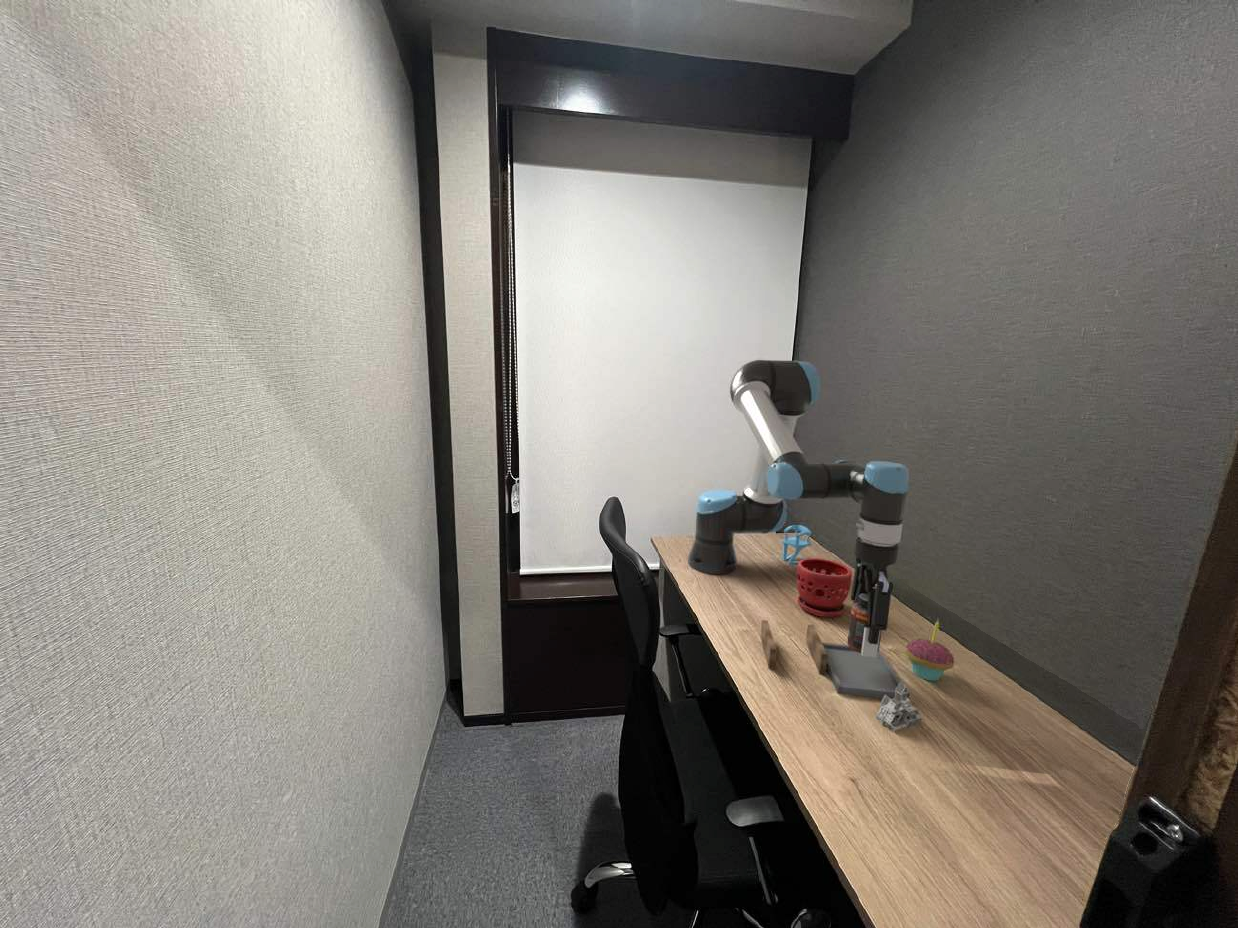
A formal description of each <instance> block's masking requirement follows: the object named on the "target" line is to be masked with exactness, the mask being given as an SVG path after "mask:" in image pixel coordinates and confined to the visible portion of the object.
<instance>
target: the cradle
mask: <svg viewBox="0 0 1238 928" xmlns="http://www.w3.org/2000/svg"><path fill="white" fill-rule="evenodd" d="M760 629H761V630H760V640H761V646H762V648H763V649H762V650H763V652H764V656H765V660H766V664H767V667H768V669H773V670H775V668H776V659H777V651H778V650H777V647H776V646H777V645H776V643H775V640H774V637H773V634H772V630H771V628H770V624H769V621H768V620H761V628H760ZM805 643H806V646H807V648H808V651H809V653H810V655H811V658H812V660H813V662H814V665H815V667H816V669H817V672H818V674H820V675H826V670H827V669H826V664H827V656H828V654H827V652H826V650H825V648H824V646H823V644H822V640H821V638H820V636H819V634H818V631H817V630H816V627H815V626H814V624H807V630H806V638H805Z"/></svg>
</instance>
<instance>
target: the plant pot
mask: <svg viewBox="0 0 1238 928" xmlns="http://www.w3.org/2000/svg"><path fill="white" fill-rule="evenodd" d="M798 561H799V563H797V567H796V568H797V569H796V583H797V585H796V586H797V590H798V593H799V595H798V597H797V598H796V599H797V600H796V601H797V604H798V605H799V606H800V608H801V609H802V610H804V611H805V612H807V613H809V614H811V615H814V616H819V617H824V618H831V617H832V618H833V617H837V616H840V615H842V614H843V613H844V612H845V607H846V606H845V605H844V602H846V599H847V597H848V594H849V592H850V589H851V583H852V576H853V571H852V570H851V569H850V568H849V567H848V566H847V565H845V564H844V563H843V564H842V563H840V562H838V561H834V560H830V559H823V558H814V557H813V558H806V559H803V558H802V560H798ZM814 569H815V570H814ZM823 570H824V571H825V573H822V571H823ZM832 574H834V575H832Z"/></svg>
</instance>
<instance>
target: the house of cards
mask: <svg viewBox="0 0 1238 928" xmlns="http://www.w3.org/2000/svg"><path fill="white" fill-rule="evenodd" d="M901 682H902V681H901ZM901 682H899V684H898V686H897V688H896V690H895V691H896V692H895V698H894V699H890V698H888V697H887V696H886V695H885V696H884V698H882V699H881V701H880V708H879V710H878V712H877V713H876V714H875V719H876V720H877V721H878V722H879V723H881V724H882V726H884V727H886V728H888V729H889V730H890V731H892V732H893V733H895V731H899V730H902V729H905V728H909V726H912V725H916V724H918V723H922V719H923V718H922V716H920V715H919V712H918V710H917V708H915V707H914V706H913V705H912V702H911V700H910V698H909V699H908V698H907V693H909V690H908V688H907V687H908V686H907V685H906V684H905V683H903V682H902V683H901ZM909 694H910V693H909Z"/></svg>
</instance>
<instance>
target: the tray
mask: <svg viewBox="0 0 1238 928" xmlns="http://www.w3.org/2000/svg"><path fill="white" fill-rule="evenodd" d="M821 642H822V641H821ZM822 644H823V646H824V648H825V650H826V652H827V654H828V656H827V664H826V670H827V673H828V675H829V677H830V680H831V681H832V683H833V686H834V688H835V691H836V693H837V694H842V695H850V696H859V697H861V696H862V697H868V698H878V699H883V698H884V696H885V695H886V696H887V697H888V698H890V699H894V698H895V692H896V691H895V690H896V688H897V686H898V684H899V682H901V683H902V684H903V682H902V681H901V679H900V678H899V676H898V675H897V673H896V672H895V670H894V668H893V667H892V666H891V664H890V663H889V661H888V660H887V659H886V657H885V656H884V654H883V652H882V651H881V650H880V648H879V651H878V652H877V657H867V656H862V655H861V653H859V652H856V651H854V650H853V649H851V648H850V647H849V645H848V644H841V643H832V642H822ZM907 698H908V699H909V700H910V693H907Z"/></svg>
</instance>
